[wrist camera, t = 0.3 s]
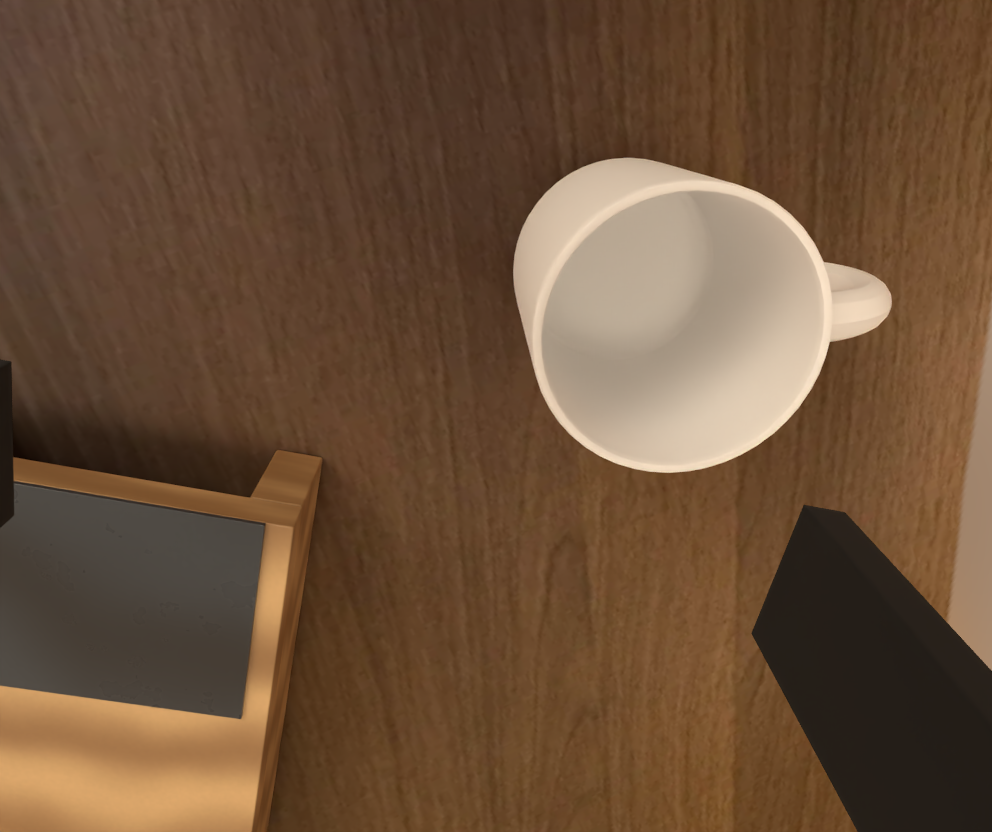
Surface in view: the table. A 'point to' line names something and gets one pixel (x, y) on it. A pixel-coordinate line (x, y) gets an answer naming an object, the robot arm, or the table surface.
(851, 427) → the table surface
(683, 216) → the mug
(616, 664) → the table surface
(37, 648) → the shelf
